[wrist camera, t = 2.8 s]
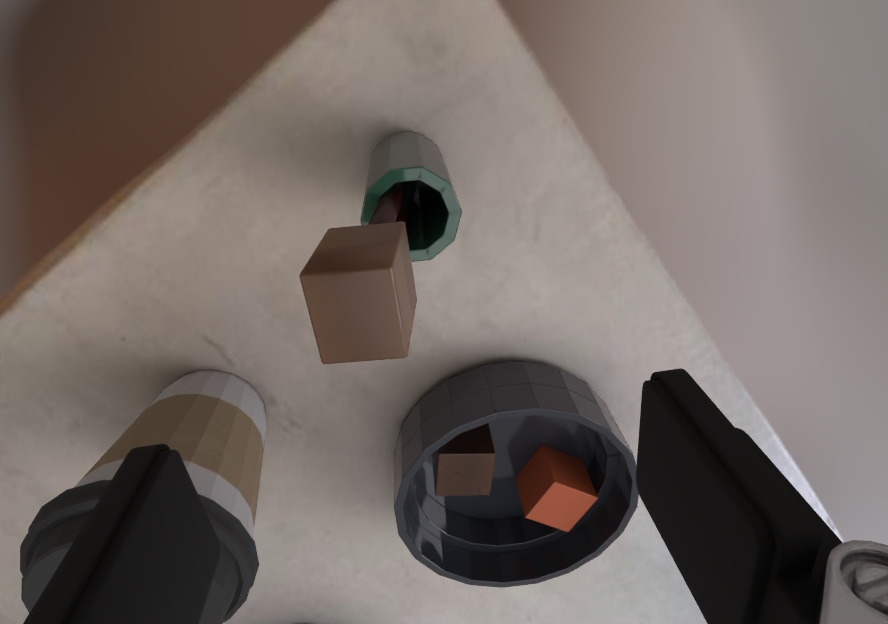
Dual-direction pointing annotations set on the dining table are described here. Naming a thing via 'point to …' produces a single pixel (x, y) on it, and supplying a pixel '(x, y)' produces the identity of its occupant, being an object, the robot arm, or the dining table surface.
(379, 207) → the wooden cube mallet
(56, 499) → the coffee cup
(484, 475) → the walnut block
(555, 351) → the dining table surface
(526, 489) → the terracotta block
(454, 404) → the bowl
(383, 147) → the holder
